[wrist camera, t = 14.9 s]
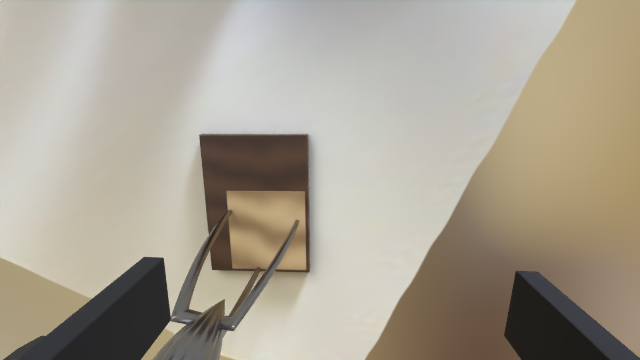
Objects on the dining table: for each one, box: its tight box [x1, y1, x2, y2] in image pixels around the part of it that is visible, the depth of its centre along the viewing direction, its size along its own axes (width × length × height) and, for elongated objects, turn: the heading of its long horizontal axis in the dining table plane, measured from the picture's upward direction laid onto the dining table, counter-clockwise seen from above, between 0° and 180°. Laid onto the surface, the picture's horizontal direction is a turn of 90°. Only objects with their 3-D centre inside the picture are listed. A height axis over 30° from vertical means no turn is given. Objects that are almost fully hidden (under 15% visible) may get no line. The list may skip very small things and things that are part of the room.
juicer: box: [153, 210, 299, 360], centre depth 34 cm, size 10×11×30 cm
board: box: [199, 134, 310, 272], centre depth 49 cm, size 22×16×2 cm
